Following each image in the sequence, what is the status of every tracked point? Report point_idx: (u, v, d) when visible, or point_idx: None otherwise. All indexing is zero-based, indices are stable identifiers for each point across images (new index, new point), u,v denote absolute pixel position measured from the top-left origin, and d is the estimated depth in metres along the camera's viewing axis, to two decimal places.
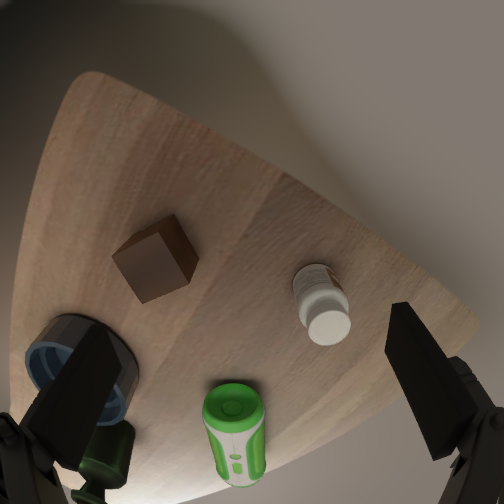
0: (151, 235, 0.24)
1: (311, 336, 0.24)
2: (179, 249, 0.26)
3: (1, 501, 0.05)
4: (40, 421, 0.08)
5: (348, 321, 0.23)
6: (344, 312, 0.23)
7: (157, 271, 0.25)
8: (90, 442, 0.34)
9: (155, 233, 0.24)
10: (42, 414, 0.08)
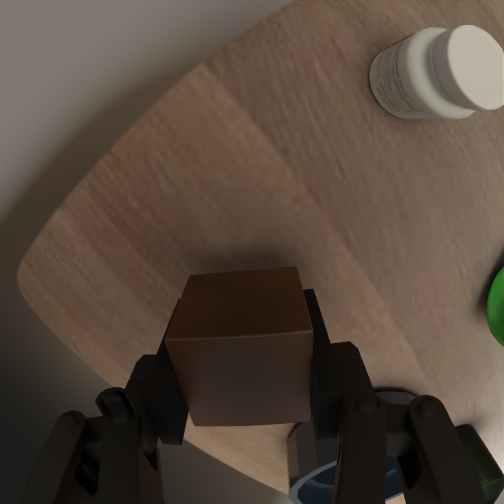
0: (170, 354, 0.10)
1: (487, 105, 0.08)
2: (239, 306, 0.12)
3: (80, 495, 0.06)
4: (156, 392, 0.09)
5: (477, 29, 0.07)
6: (458, 26, 0.07)
7: (253, 375, 0.11)
8: None
9: (167, 345, 0.10)
10: (157, 384, 0.10)
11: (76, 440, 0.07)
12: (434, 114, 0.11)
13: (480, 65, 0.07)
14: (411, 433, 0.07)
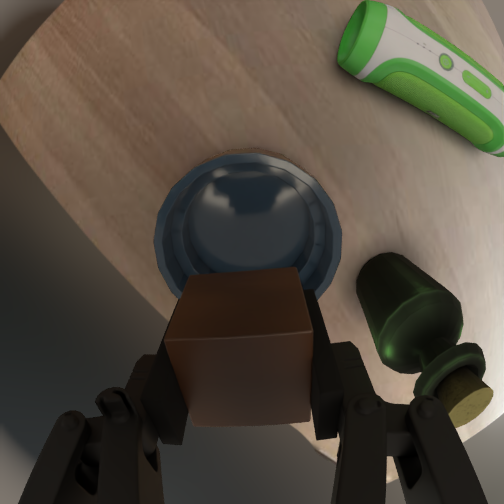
0: (169, 354, 0.10)
1: None
2: (239, 306, 0.12)
3: (80, 495, 0.06)
4: (156, 392, 0.09)
5: None
6: None
7: (253, 376, 0.11)
8: (370, 314, 0.25)
9: (167, 346, 0.10)
10: (156, 384, 0.10)
11: (76, 440, 0.07)
12: None
13: None
14: (411, 433, 0.07)
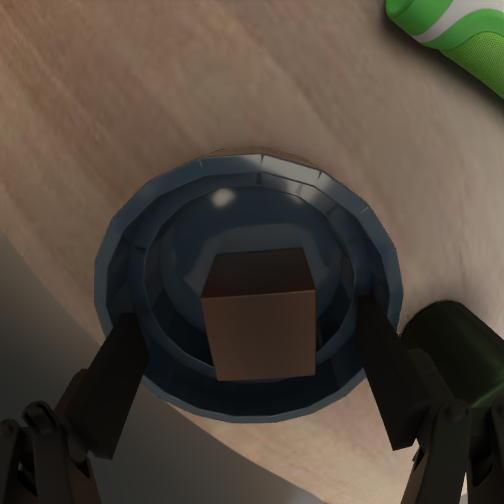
0: (203, 311, 0.14)
1: None
2: (258, 275, 0.15)
3: (26, 496, 0.06)
4: (78, 408, 0.08)
5: None
6: None
7: (270, 329, 0.14)
8: None
9: (201, 304, 0.14)
10: (80, 401, 0.09)
11: (13, 444, 0.06)
12: None
13: None
14: None
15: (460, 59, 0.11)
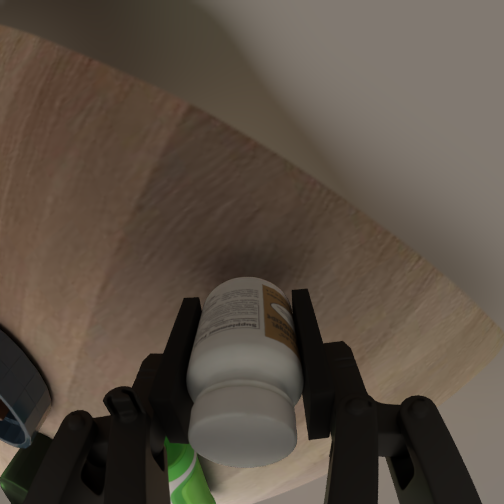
0: None
1: (200, 453, 0.09)
2: None
3: (86, 495, 0.06)
4: (164, 390, 0.09)
5: (289, 434, 0.08)
6: (277, 415, 0.08)
7: None
8: (14, 462, 0.23)
9: None
10: (164, 383, 0.10)
11: (83, 440, 0.07)
12: None
13: (240, 443, 0.08)
14: (402, 434, 0.07)
15: None
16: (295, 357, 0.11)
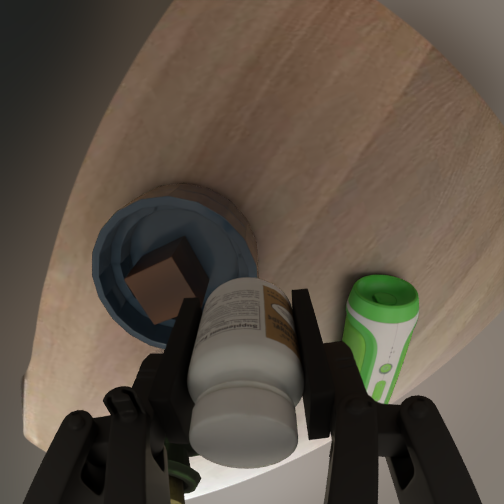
0: (164, 260, 0.24)
1: (201, 454, 0.09)
2: (191, 272, 0.27)
3: (86, 495, 0.06)
4: (164, 391, 0.09)
5: (290, 434, 0.08)
6: (278, 417, 0.08)
7: (170, 294, 0.25)
8: None
9: (168, 258, 0.24)
10: (164, 383, 0.10)
11: (83, 440, 0.07)
12: None
13: (241, 444, 0.08)
14: (402, 434, 0.07)
15: (345, 325, 0.29)
16: (296, 358, 0.11)
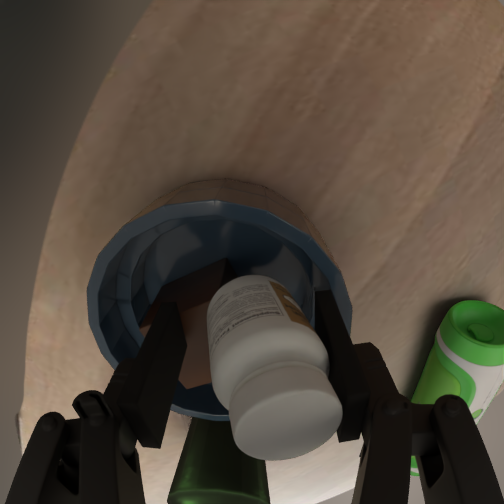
0: (205, 303, 0.15)
1: (244, 449, 0.08)
2: None
3: (63, 494, 0.06)
4: (132, 395, 0.09)
5: (337, 408, 0.08)
6: (326, 389, 0.08)
7: None
8: (202, 457, 0.20)
9: None
10: (133, 388, 0.09)
11: (56, 440, 0.07)
12: (212, 382, 0.11)
13: (288, 428, 0.08)
14: (437, 432, 0.07)
15: (434, 367, 0.20)
16: (320, 340, 0.11)
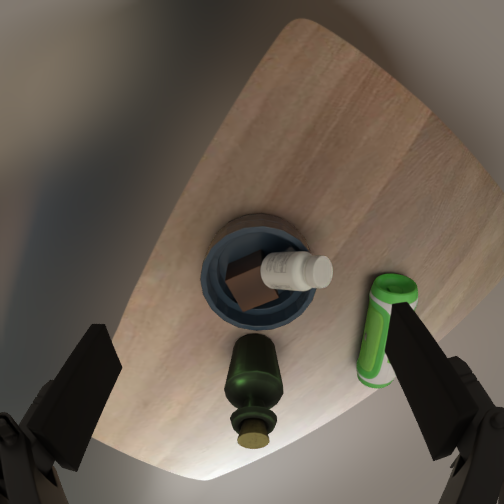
0: (256, 267, 0.38)
1: (315, 280, 0.32)
2: None
3: (1, 501, 0.05)
4: (40, 421, 0.08)
5: None
6: (326, 257, 0.33)
7: (258, 290, 0.39)
8: (245, 358, 0.42)
9: (259, 266, 0.37)
10: (42, 414, 0.08)
11: None
12: (289, 275, 0.33)
13: (323, 270, 0.32)
14: None
15: (369, 308, 0.42)
16: None
